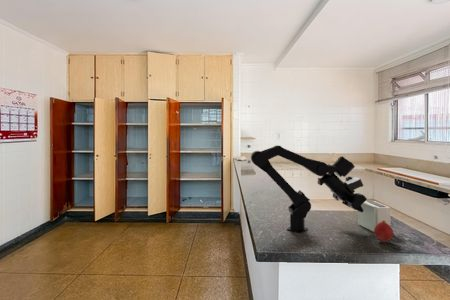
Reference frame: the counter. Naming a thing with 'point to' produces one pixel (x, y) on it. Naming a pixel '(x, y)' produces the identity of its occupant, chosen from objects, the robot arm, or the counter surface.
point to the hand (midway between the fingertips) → (362, 211)
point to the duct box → (381, 212)
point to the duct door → (367, 216)
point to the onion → (383, 231)
